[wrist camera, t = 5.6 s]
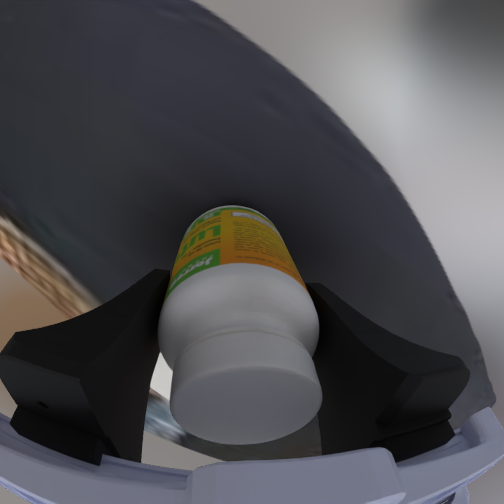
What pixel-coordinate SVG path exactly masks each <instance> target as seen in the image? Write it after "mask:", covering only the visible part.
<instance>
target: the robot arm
mask: <svg viewBox="0 0 504 504" xmlns="http://www.w3.org/2000/svg"><path fill="white" fill-rule="evenodd" d="M169 281H170V271H169V270H159V269H154V270H153V271H151V272H150V273H149V274H147V275H146V276H145V277H143V278H142V279H141V280H139V281H138V282H137V283H135V284H134V285H132V286H131V287H130V288H128V289H127V290H125V291H124V292H122V293H121V294H119V295H118V296H116V297H115V298H113V299H112V300H110V301H108V302H106V303H105V304H103V305H101V306H99V307H97V308H95V309H93V310H91V311H89V312H87V313H84V314H82V315H79V316H77V317H74V318H72V319H69V320H66V321H63V322H60V323H57V324H54V325H50V326H46V327H42V328H37V329H32V330H26V331H20V332H15V334H14V335H13V336H12V338H11V339H10V340H9V342H8V343H7V344H6V346H5V347H4V349H3V350H2V351H1V353H0V379H1V380H2V382H3V384H4V385H5V387H6V388H7V390H8V392H9V393H10V395H11V397H12V398H13V400H14V401H15V403H16V404H17V405H18V406H17V409H16V410H15V412H14V415H13V417H12V419H11V418H9V417H7V416H5V415H3V414H2V413H0V485H1V486H3V487H5V488H6V489H8V490H9V491H11V492H13V493H14V494H16V495H18V496H19V497H21V498H23V499H25V500H26V501H28V502H30V503H32V504H441V503H443V502H445V501H447V500H448V501H447V502H445V503H444V504H469V500H468V499H469V498H470V494H469V492H468V489H467V486H466V485H468V484H469V483H471V482H472V481H474V480H475V479H477V478H478V477H479V476H480V475H482V474H483V473H484V472H485V471H487V470H488V469H490V468H491V467H492V466H493V465H495V464H496V463H497V462H498V461H499V460H501V459H502V458H503V457H504V429H503V427H502V426H501V424H500V423H499V421H498V419H497V418H496V416H495V415H494V413H493V412H492V410H491V408H490V407H487V408H485V409H483V410H481V411H479V412H476V413H475V414H473V415H472V416H470V417H469V418H468V419H467V420H466V421H465V422H464V423H463V424H462V425H461V427H460V428H459V429H456V430H454V431H453V429H452V427H451V425H450V423H449V422H448V419H450V418H451V413H450V411H449V410H448V408H449V407H450V406H451V405H452V404H453V403H454V401H455V400H456V399H457V398H458V396H459V395H460V394H461V393H462V391H463V390H464V388H465V387H466V385H467V383H468V381H469V377H470V371H469V369H468V368H467V366H466V365H465V364H464V362H463V361H462V360H461V359H460V358H459V357H457V356H453V355H449V354H445V353H441V352H437V351H434V350H431V349H428V348H425V347H422V346H419V345H417V344H414V343H412V342H409V341H407V340H405V339H403V338H401V337H398V336H396V335H394V334H393V333H391V332H389V331H387V330H385V329H384V328H382V327H380V326H378V325H377V324H375V323H373V322H372V321H370V320H369V319H367V318H366V317H365V316H363V315H362V314H360V313H359V312H357V311H356V310H355V309H353V308H352V307H351V306H349V305H348V304H347V303H346V302H344V301H343V300H342V299H340V298H339V297H338V296H337V295H335V294H334V293H333V292H332V291H330V290H329V289H328V288H326V287H325V286H323V285H322V284H319V283H306V285H305V286H306V288H307V290H308V292H309V294H310V297H311V299H312V301H313V304H314V307H315V309H316V312H317V315H318V320H319V340H318V344H317V347H316V350H315V352H314V355H313V356H312V360H313V363H314V366H315V369H316V373H317V376H318V379H319V383H320V386H321V389H322V404H321V407H320V409H319V411H318V419H319V426H320V435H321V446H322V456H316V457H307V458H297V459H283V460H258V461H233V462H218V463H214V464H210V465H205V466H201V467H198V468H196V469H195V470H193V471H191V470H181V469H174V468H166V467H160V466H154V465H148V464H143V463H141V455H142V442H143V431H144V423H145V415H146V408H147V401H148V395H149V390H150V384H151V380H152V376H153V373H154V369H155V366H156V363H157V360H158V357H159V354H160V347H159V343H158V323H159V318H160V313H161V309H162V305H163V302H164V298H165V295H166V291H167V287H168V284H169Z"/></svg>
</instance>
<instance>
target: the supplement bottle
mask: <svg viewBox="0 0 504 504" xmlns="http://www.w3.org/2000/svg"><path fill="white" fill-rule="evenodd" d="M318 340H319V320H318V315H317V312H316V309H315V307H314V304H313V301H312V299H311V297H310V294H309V292H308V290H307V288H306V286H305V284H304V282H303V280H302V278H301V276H300V274H299V272H298V270H297V268H296V266H295V264H294V262H293V260H292V258H291V256H290V254H289V252H288V250H287V248H286V246H285V243H284V241H283V239H282V237H281V235H280V233H279V232H278V230H277V229H276V227H275V226H274V225H273V223H272V222H271V221H270V220H269V219H268V218H267V217H265V216H264V215H263V214H261V213H259V212H258V211H256V210H253V209H251V208H247V207H243V206H236V205H229V206H221V207H217V208H214V209H211V210H209V211H207V212H205V213H204V214H202V215H201V216H199V217H198V218H197V219H196V220H195V221H194V222H193V223H192V224H191V225H190V227H189V228H188V230H187V231H186V233H185V235H184V237H183V240H182V242H181V245H180V248H179V251H178V254H177V257H176V260H175V264H174V267H173V270H172V274H171V277H170V281H169V284H168V287H167V291H166V295H165V298H164V302H163V305H162V309H161V313H160V318H159V323H158V343H159V347H160V351H161V353H162V356H163V358H164V359H165V361H166V363H167V365H168V366H169V368H170V369H171V370H172V371H173V375H172V382H171V391H170V410H171V413H172V416H173V418H174V419H175V421H176V422H177V423H178V424H179V425H180V426H181V427H182V428H183V429H185V430H186V431H188V432H189V433H191V434H193V435H195V436H197V437H200V438H202V439H205V440H208V441H212V442H217V443H223V444H256V443H262V442H267V441H271V440H275V439H279V438H281V437H284V436H286V435H289V434H291V433H293V432H295V431H297V430H298V429H300V428H302V427H303V426H304V425H306V424H307V423H308V422H310V421H311V420H312V419H313V417H314V416H315V415H316V414H317V412H318V411H319V409H320V407H321V404H322V389H321V386H320V383H319V379H318V376H317V373H316V369H315V366H314V363H313V360H312V356H313V355H314V352H315V350H316V347H317V344H318Z"/></svg>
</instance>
